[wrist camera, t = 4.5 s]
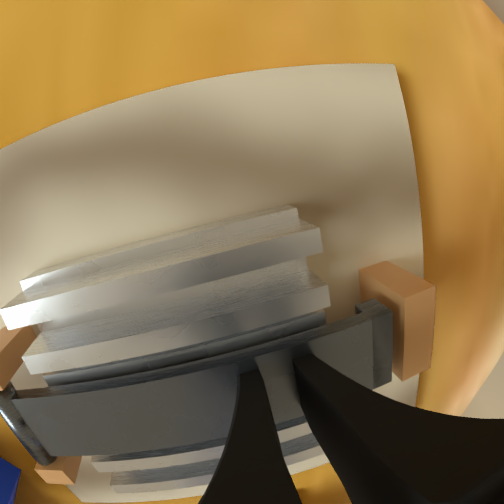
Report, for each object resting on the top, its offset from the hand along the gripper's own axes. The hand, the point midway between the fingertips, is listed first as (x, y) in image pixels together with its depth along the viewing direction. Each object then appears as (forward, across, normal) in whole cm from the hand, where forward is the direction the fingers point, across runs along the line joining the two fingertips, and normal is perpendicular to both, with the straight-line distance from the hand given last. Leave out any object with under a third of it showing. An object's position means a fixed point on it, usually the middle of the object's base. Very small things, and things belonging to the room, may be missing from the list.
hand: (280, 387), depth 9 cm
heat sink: (+3, +3, 0) cm, 4 cm away
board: (+4, +3, 0) cm, 5 cm away
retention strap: (+1, +3, 0) cm, 3 cm away
